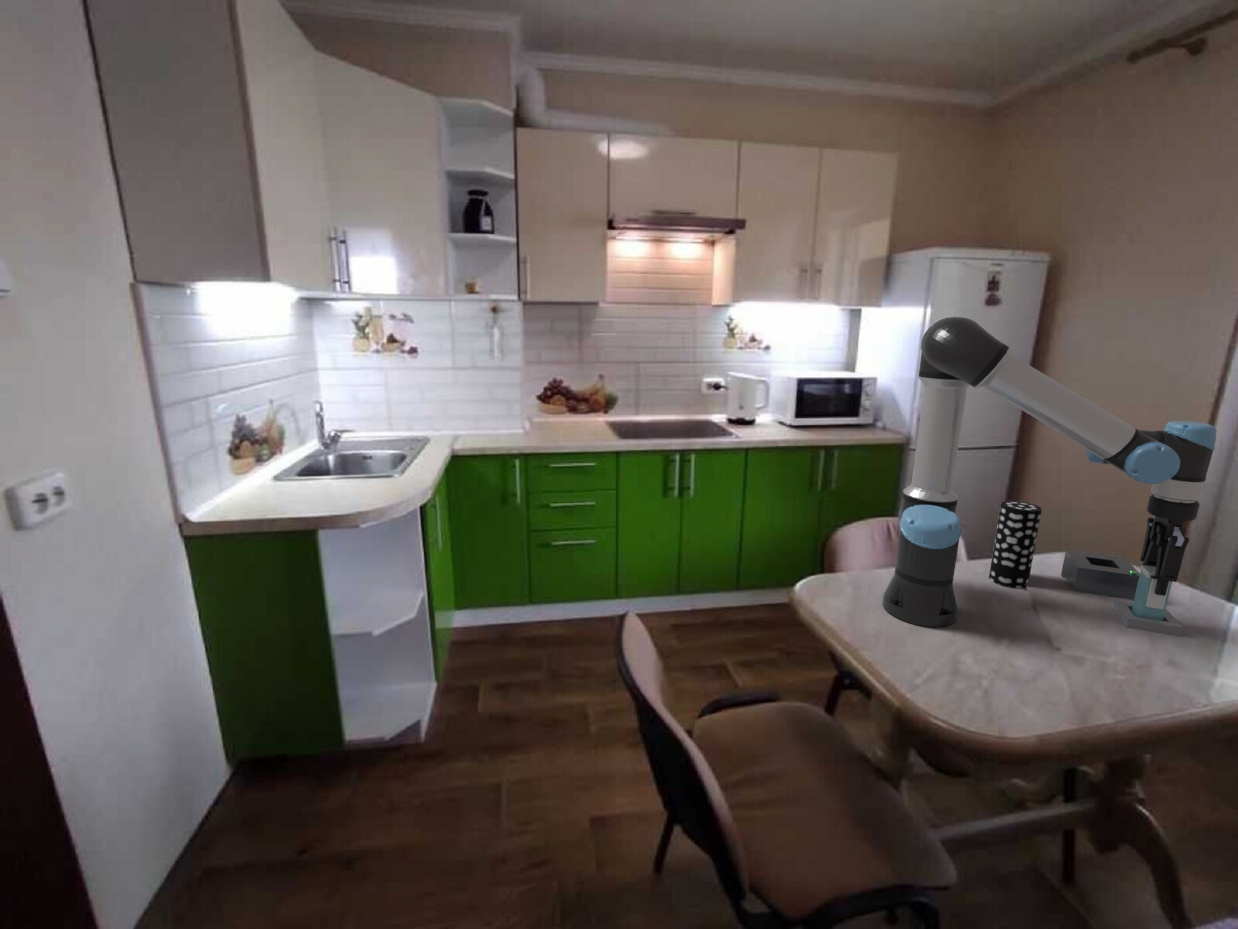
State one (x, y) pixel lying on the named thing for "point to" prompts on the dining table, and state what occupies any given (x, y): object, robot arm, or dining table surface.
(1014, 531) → the spotted tube
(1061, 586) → the dining table surface
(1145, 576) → the plug
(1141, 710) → the dining table surface
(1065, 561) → the port
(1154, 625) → the square frame socket
